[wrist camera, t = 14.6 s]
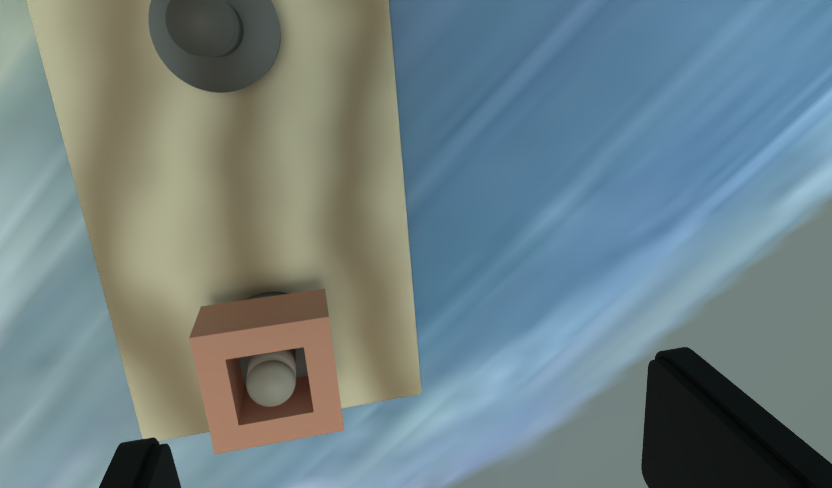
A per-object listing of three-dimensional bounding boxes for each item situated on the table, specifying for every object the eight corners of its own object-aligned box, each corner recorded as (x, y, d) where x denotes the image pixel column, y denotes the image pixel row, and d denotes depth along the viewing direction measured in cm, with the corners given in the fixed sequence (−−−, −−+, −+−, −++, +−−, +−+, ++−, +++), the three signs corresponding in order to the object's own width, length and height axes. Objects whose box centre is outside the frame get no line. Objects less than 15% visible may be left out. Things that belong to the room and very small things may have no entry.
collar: (325, 288, 34) (329, 316, 30) (339, 392, 36) (344, 430, 33) (200, 306, 33) (188, 338, 29) (223, 412, 35) (214, 454, 32)
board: (376, -97, 32) (408, -157, 23) (417, 382, 41) (451, 471, 32) (16, -84, 29) (-107, -146, 20) (149, 429, 38) (106, 541, 30)
